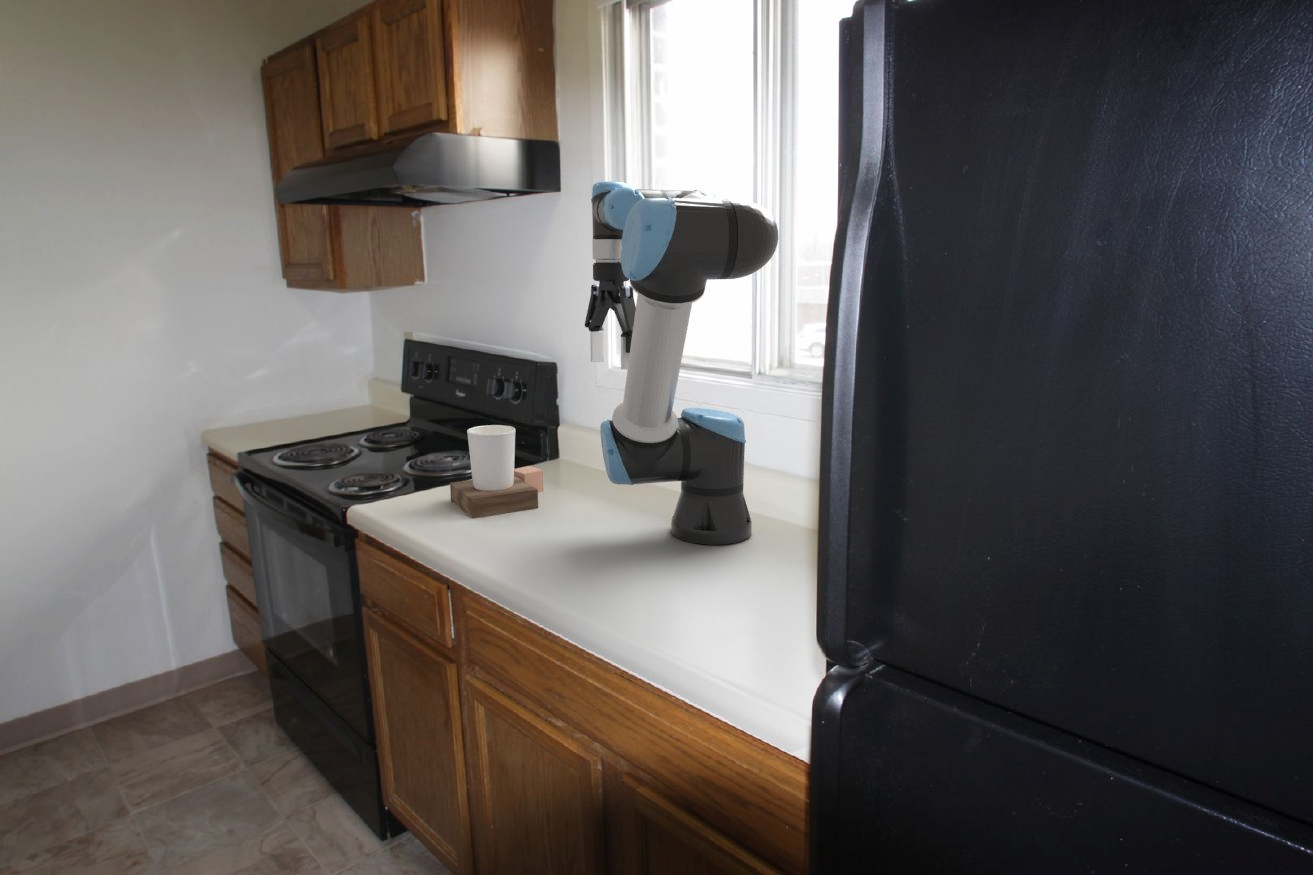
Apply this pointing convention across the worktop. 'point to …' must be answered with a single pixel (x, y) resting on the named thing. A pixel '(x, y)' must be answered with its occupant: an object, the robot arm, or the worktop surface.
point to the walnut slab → (493, 498)
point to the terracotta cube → (531, 476)
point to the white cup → (492, 456)
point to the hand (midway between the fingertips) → (611, 365)
